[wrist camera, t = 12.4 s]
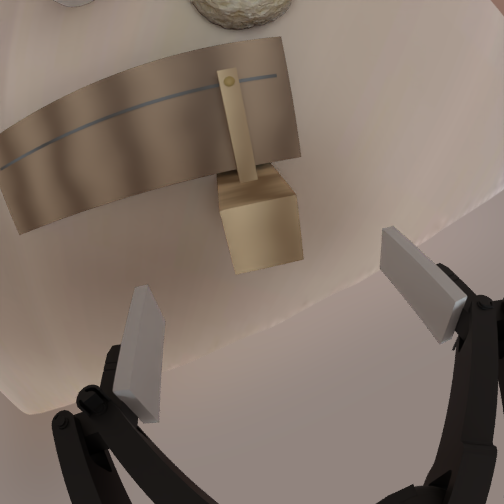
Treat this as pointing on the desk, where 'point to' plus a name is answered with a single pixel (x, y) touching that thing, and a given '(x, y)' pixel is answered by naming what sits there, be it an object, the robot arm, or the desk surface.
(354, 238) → the desk surface
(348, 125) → the desk surface
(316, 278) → the desk surface
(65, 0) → the cylindrical container
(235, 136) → the wooden lever on block
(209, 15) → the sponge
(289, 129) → the board
